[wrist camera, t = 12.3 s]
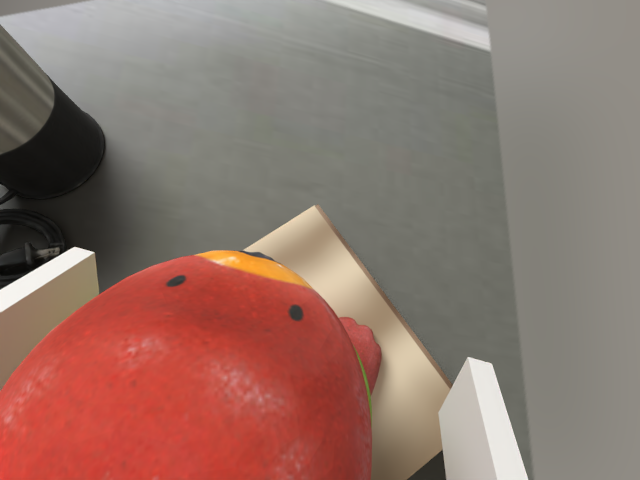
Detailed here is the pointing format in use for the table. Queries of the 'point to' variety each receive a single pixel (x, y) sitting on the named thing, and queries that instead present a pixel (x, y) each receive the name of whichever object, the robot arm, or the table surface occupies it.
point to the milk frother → (39, 151)
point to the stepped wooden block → (389, 332)
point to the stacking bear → (195, 381)
